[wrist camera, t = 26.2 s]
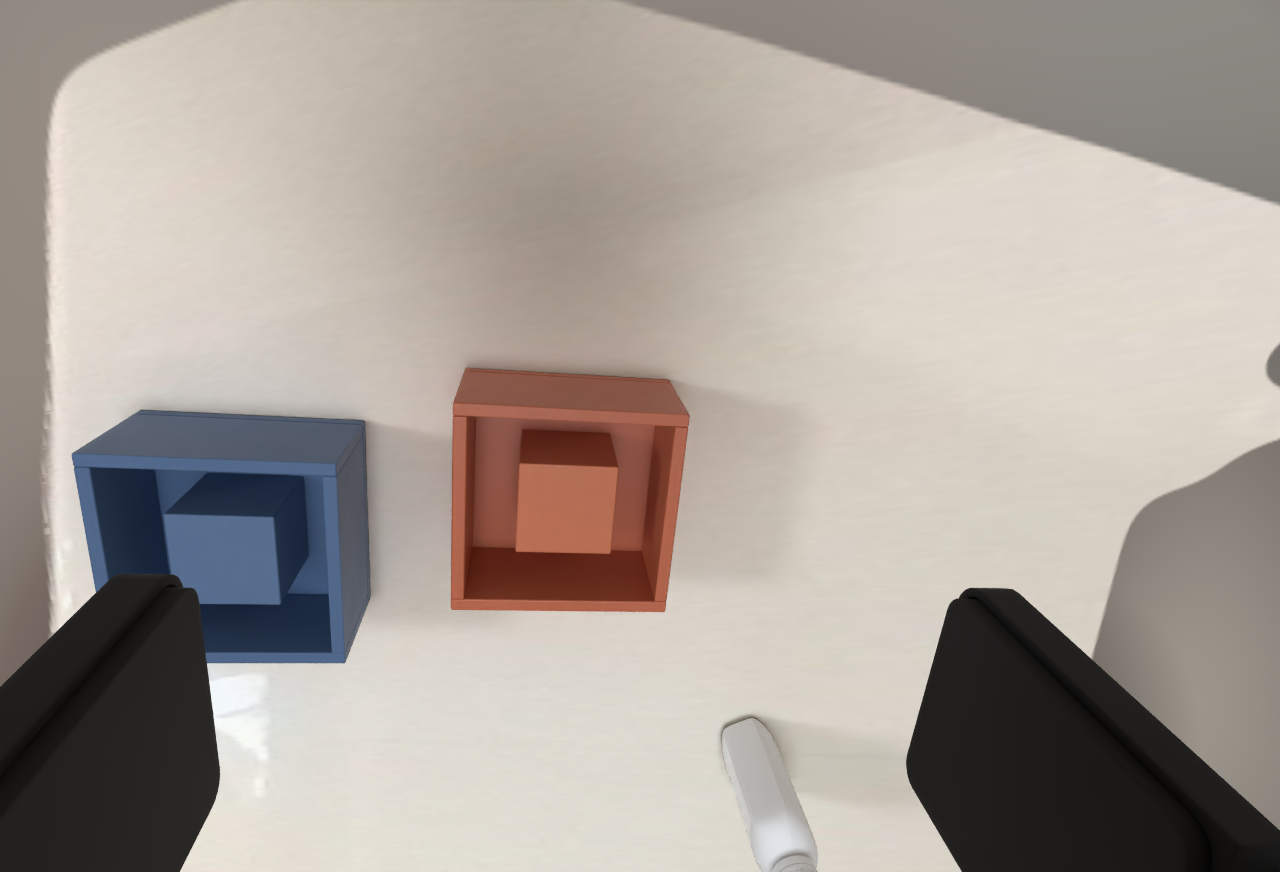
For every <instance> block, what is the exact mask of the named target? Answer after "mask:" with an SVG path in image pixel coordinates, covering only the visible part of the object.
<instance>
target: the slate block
mask: <svg viewBox="0 0 1280 872" xmlns="http://www.w3.org/2000/svg"><path fill="white" fill-rule="evenodd" d="M163 517H164V524H165V531H166V539H167V546H168V553H169V561H170V568H171V575H175V576H177V577H179V579H180V581H181V582H182V585H183V588H193V589H195V590H196V592H197V594H198V598H199V604H259V605H280V604H281V603H282V601H283V599H284V598H285V596H286V594H287V593H288V591H289V589H290V587H291V586H292V584H293V582H294V580H295V579H296V577H297V575H298V574H299V572H300V570H301V568H302V567H303V565H304V563H305V561H306V560H307V558H308V556H309V553H308V537H307V521H306V505H305V490H304V478H303V477H295V476H267V475H240V474H212V473H207V474H205V475H204V476H203V477H202V478H201V479H200V480H199V481H198V482H197V483H196V484H195V485H194V486H193V487H192V488H191V489H189V490H188V491H187V492H186V493H185V494H184V495H183V496H182V497H181V498H180V499H179V500H178V501H177V502H176V503H175V504H174V505H173V506H172V507H171V508H169V509H168V510H167V511H166V512H165V513H164V515H163Z"/></svg>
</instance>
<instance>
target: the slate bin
mask: <svg viewBox="0 0 1280 872" xmlns="http://www.w3.org/2000/svg"><path fill="white" fill-rule="evenodd" d="M72 460H73V465H74V466H75V467H74V471H75V477H76V482H77V488H78V493H79V499H80V505H81V510H82V516H83V522H84V527H85V533H86V539H87V544H88V550H89V555H90V561H91V567H92V572H93V578H94V584H95V589H96V592H97V591H98V590H99V589H101V588H102V587H103V586H104V585H105V584H106V583H107V582H108V581H109V580H110V579H111V578H112V577H114V576H115V575H117V574H169V575H171V568H170V561H169V553H168V546H167V539H166V531H165V524H164V517H163V515H164V513H165V512H166V511H167V510H168V509H169V508H171V507H172V506H173V505H174V504H175V503H176V502H177V501H178V500H179V499H180V498H181V497H182V496H183V495H184V494H185V493H186V492H187V491H188V490H189V489H191V488H192V487H193V486H194V485H195V484H196V483H197V482H198V481H199V480H200V479H201V478H202V477H203V476H204V475H205V474H207V473H212V474H240V475H267V476H295V477H303V478H304V490H305V505H306V521H307V537H308V553H309V556H308V558H307V560H306V561H305V563H304V565H303V567H302V568H301V570H300V572H299V574H298V575H297V577H296V579H295V580H294V582H293V584H292V586H291V587H290V589H289V591H288V593H287V594H286V596H285V598H284V599H283V601H282V603H281V604H280V605H259V604H200V612H201V621H202V629H203V637H204V645H205V653H206V661H207V663H345V662H346V659H347V657H348V654H349V652H350V649H351V646H352V644H353V641H354V639H355V636H356V633H357V631H358V628H359V626H360V623H361V620H362V618H363V615H364V613H365V610H366V607H367V605H368V602H369V600H370V572H369V541H368V509H367V478H366V447H365V422H364V421H359V420H338V419H317V418H296V417H275V416H254V415H233V414H212V413H191V412H170V411H149V410H140V411H138V412H137V413H135V414H134V415H132V416H130V417H129V418H127V419H126V420H124V421H123V422H121V423H119V424H118V425H116V426H115V427H113V428H111V429H110V430H108V431H107V432H105V433H104V434H102V435H100V436H99V437H97V438H96V439H94V440H93V441H91V442H89V443H88V444H86V445H85V446H83V447H81V448H80V449H78V450H77V451H75V452H74V453H72Z"/></svg>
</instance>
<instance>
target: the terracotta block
mask: <svg viewBox="0 0 1280 872" xmlns="http://www.w3.org/2000/svg"><path fill="white" fill-rule="evenodd" d="M618 472H619V467H618V463H617V459H616V455H615V451H614V447H613V443H612V439H611V435H610V434H608V433H587V432H566V431H545V430H524V429H523V430H521V442H520V457H519V475H518V498H517V520H516V543H515V551H516V552H550V553H594V554H610V553H611V547H612V536H613V525H614V515H615V504H616V494H617V483H618Z"/></svg>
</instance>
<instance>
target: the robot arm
mask: <svg viewBox="0 0 1280 872" xmlns="http://www.w3.org/2000/svg"><path fill="white" fill-rule="evenodd" d="M906 768H907V774H908V778H909V781H910V784H911V786H912V788H913V790H914V791H915V793H916V795H917V797H918V798H919V800H920V802H921V803H922V805H923V807H924V808H925V810H926V812H927V813H928V815H929V817H930V819H931V820H932V822H933V824H934V825H935V827H936V829H937V830H938V832H939V834H940V835H941V837H942V839H943V841H944V842H945V844H946V846H947V847H948V849H949V851H950V852H951V854H952V856H953V857H954V859H955V861H956V863H957V864H958V866H959V868H960V869H961V871H962V872H1280V830H1278V829H1277V828H1276V827H1275V826H1274V825H1273V824H1272V823H1271V822H1270V821H1269V820H1268V819H1267V818H1265V817H1264V816H1263V815H1262V814H1261V813H1260V812H1259V811H1258V810H1257V809H1256V808H1254V807H1253V806H1252V805H1251V804H1250V803H1249V802H1248V801H1247V800H1246V799H1245V798H1243V797H1242V796H1241V795H1240V794H1239V793H1238V792H1237V791H1236V790H1235V789H1233V788H1232V787H1231V786H1230V785H1229V784H1228V783H1227V782H1226V781H1225V780H1224V779H1223V778H1221V777H1220V776H1219V775H1218V774H1217V773H1216V772H1215V771H1214V770H1213V769H1212V768H1210V767H1209V766H1208V765H1207V764H1206V763H1205V762H1204V761H1203V760H1202V759H1201V758H1199V757H1198V756H1197V755H1196V754H1195V753H1194V752H1193V751H1192V750H1191V749H1190V748H1188V747H1187V746H1186V745H1185V744H1184V743H1183V742H1182V741H1181V740H1180V739H1179V738H1177V737H1176V736H1175V735H1174V734H1173V733H1172V732H1171V731H1170V730H1168V729H1167V728H1166V727H1165V726H1164V725H1163V724H1162V723H1161V722H1160V721H1159V720H1158V719H1156V717H1154V716H1153V715H1152V714H1151V713H1150V712H1149V711H1148V710H1147V709H1146V708H1145V707H1143V706H1142V705H1141V704H1140V703H1139V702H1138V701H1137V700H1136V699H1135V698H1134V697H1132V696H1131V695H1130V694H1129V693H1128V692H1127V691H1126V690H1125V689H1124V688H1122V687H1121V686H1120V685H1119V684H1118V683H1117V682H1116V681H1115V680H1114V679H1113V678H1111V677H1110V676H1109V675H1108V674H1107V673H1106V672H1105V671H1104V670H1103V669H1102V668H1101V667H1099V666H1098V665H1097V664H1096V663H1095V662H1094V661H1093V660H1092V659H1091V658H1090V657H1088V656H1087V655H1086V654H1085V653H1084V652H1083V651H1082V650H1081V649H1080V648H1079V647H1077V646H1076V645H1075V644H1074V643H1073V642H1072V641H1071V640H1070V639H1069V638H1068V637H1066V636H1065V635H1064V634H1063V633H1062V632H1061V631H1060V630H1059V629H1058V628H1057V627H1055V626H1054V625H1053V624H1052V623H1051V622H1050V621H1049V620H1048V619H1047V618H1046V617H1044V616H1043V615H1042V614H1041V613H1040V612H1039V611H1038V610H1037V609H1036V608H1035V607H1033V606H1032V605H1031V604H1030V603H1029V602H1028V601H1027V600H1026V599H1025V598H1024V597H1022V596H1021V595H1020V594H1019V593H1018V592H1016V591H1014V590H1013V589H1005V588H969V589H966V590H965V591H964V592H963V593H962V594H961V595H960V597H959V599H955V600H953V601H952V602H951V603H950V605H949V607H948V609H947V613H946V617H945V620H944V624H943V627H942V631H941V635H940V638H939V642H938V646H937V649H936V653H935V656H934V660H933V664H932V667H931V671H930V674H929V678H928V682H927V685H926V689H925V692H924V696H923V700H922V703H921V707H920V710H919V714H918V718H917V721H916V725H915V729H914V732H913V736H912V739H911V743H910V747H909V750H908V754H907V759H906ZM219 780H220V766H219V758H218V750H217V742H216V734H215V726H214V718H213V710H212V702H211V694H210V685H209V677H208V669H207V661H206V653H205V645H204V637H203V629H202V621H201V612H200V604H199V598H198V594H197V592H196V590H195V589H193V588H183V585H182V582H181V581H180V579H179V577H177V576H175V575H169V574H117V575H115V576H114V577H112V578H111V579H110V580H109V581H108V582H107V583H106V584H105V585H104V586H103V587H102V588H101V589H99V590H98V591H97V592H96V593H95V594H94V595H93V596H92V597H91V598H90V599H89V600H88V601H87V602H86V603H85V604H84V605H83V606H82V607H81V608H80V609H79V610H78V611H77V612H76V613H75V614H74V615H73V616H72V617H71V618H70V619H69V620H68V621H67V622H66V623H65V624H64V625H63V626H62V627H61V628H60V629H59V630H58V631H57V632H56V633H55V634H54V635H53V636H52V637H51V638H50V639H49V640H48V641H47V642H46V643H45V644H44V645H42V647H41V648H40V649H38V650H37V651H36V652H35V653H34V654H33V655H32V656H31V657H30V659H28V660H27V661H26V662H25V663H24V664H23V665H22V666H21V667H20V668H19V669H18V670H17V671H16V672H15V673H14V674H13V675H12V676H11V677H10V678H9V679H8V680H7V681H6V682H5V683H4V684H3V685H2V686H1V687H0V872H180V870H181V868H182V866H183V864H184V862H185V860H186V858H187V856H188V854H189V852H190V850H191V848H192V846H193V844H194V842H195V840H196V838H197V836H198V834H199V832H200V830H201V828H202V826H203V824H204V822H205V821H206V819H207V817H208V815H209V813H210V811H211V809H212V806H213V804H214V802H215V799H216V796H217V792H218V787H219Z"/></svg>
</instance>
